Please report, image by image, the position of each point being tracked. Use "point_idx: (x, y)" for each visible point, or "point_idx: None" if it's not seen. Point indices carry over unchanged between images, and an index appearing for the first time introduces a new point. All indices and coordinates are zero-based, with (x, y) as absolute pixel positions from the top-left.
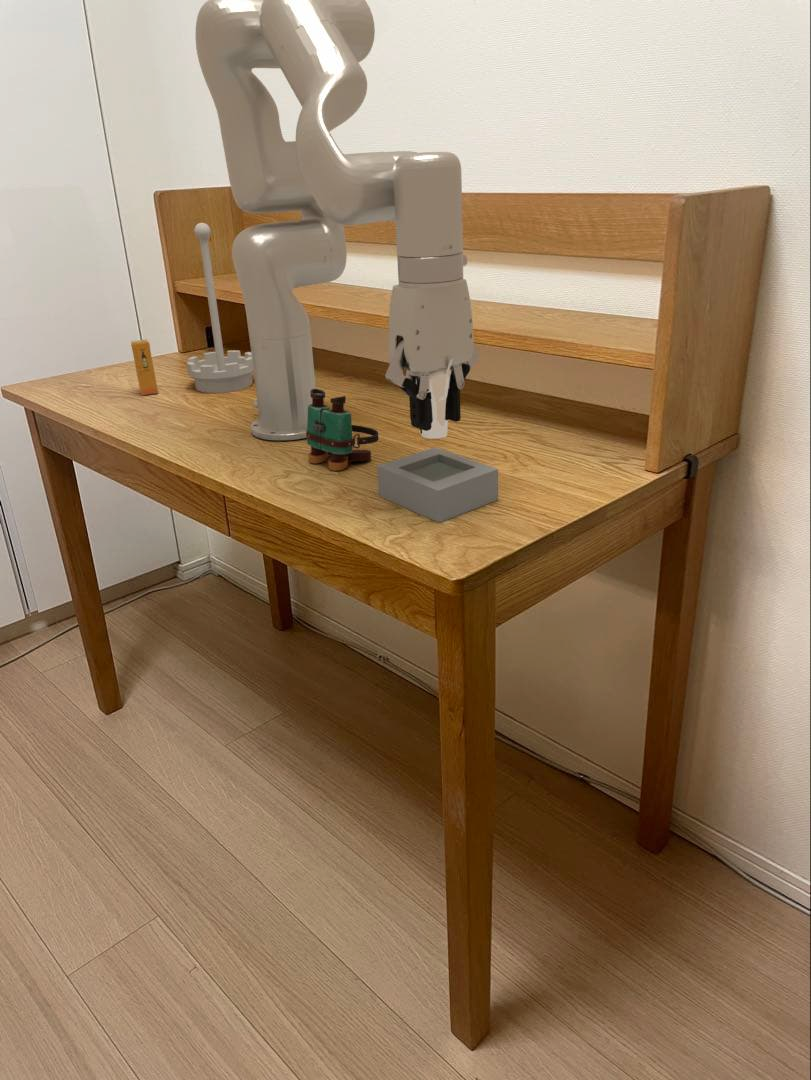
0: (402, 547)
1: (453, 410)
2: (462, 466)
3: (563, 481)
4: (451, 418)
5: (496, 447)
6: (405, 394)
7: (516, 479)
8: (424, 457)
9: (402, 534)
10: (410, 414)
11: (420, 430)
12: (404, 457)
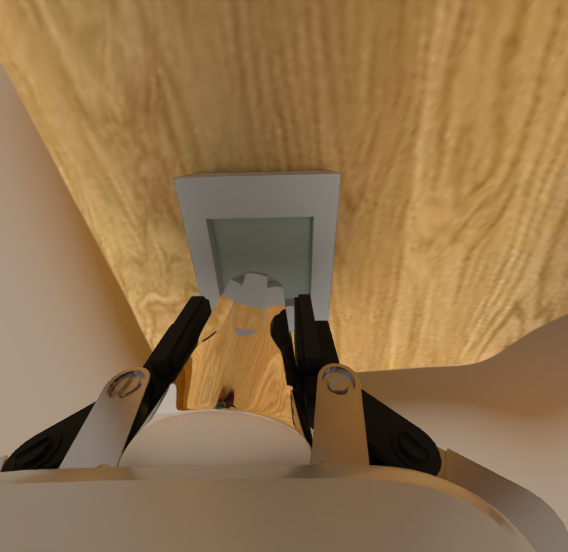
0: (154, 321)
1: (295, 358)
2: (310, 274)
3: (422, 312)
4: (294, 334)
5: (530, 125)
6: (118, 374)
7: (395, 269)
8: (279, 210)
9: (168, 299)
10: (165, 335)
11: (228, 284)
12: (247, 179)
